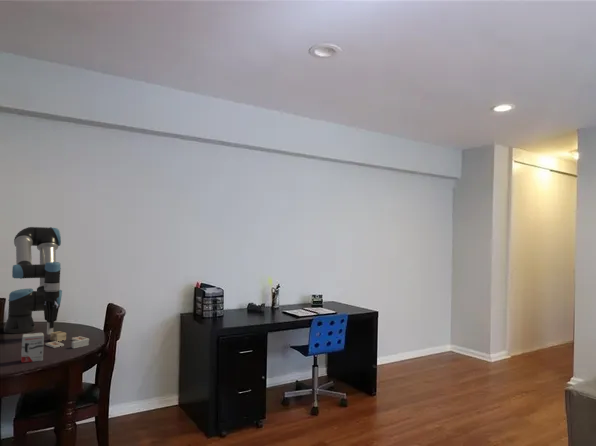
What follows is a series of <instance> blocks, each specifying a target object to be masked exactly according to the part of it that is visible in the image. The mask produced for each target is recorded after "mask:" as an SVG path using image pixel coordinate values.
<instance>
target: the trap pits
mask: <svg viewBox="0 0 596 446" xmlns="http://www.w3.org/2000/svg"><path fill="white" fill-rule="evenodd" d="M83 339H89V338H88V337H84V336H81V335H80V336H74V337H71V341H78V340H83ZM45 346H47V347H50V348H54V349H55V348H61V347H64V346H65V344H64V343H62V342H60V341H59V342H56V341H50V342H45ZM60 346H61V347H60Z"/></svg>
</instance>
